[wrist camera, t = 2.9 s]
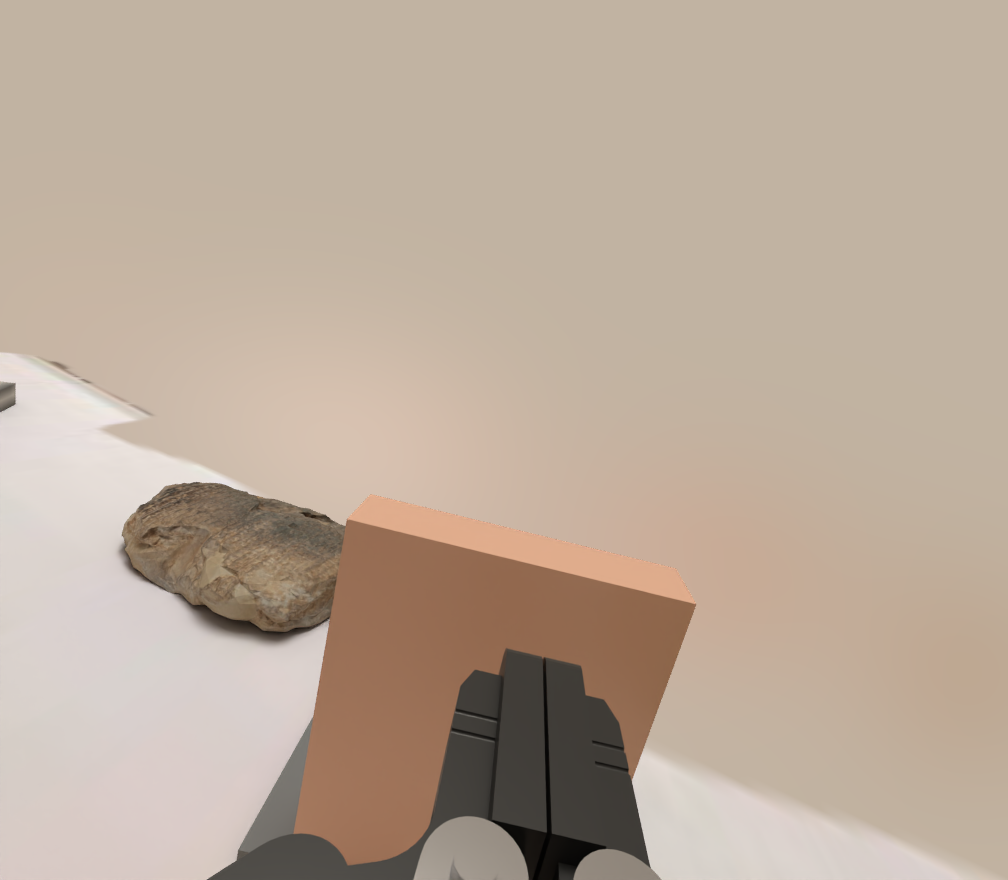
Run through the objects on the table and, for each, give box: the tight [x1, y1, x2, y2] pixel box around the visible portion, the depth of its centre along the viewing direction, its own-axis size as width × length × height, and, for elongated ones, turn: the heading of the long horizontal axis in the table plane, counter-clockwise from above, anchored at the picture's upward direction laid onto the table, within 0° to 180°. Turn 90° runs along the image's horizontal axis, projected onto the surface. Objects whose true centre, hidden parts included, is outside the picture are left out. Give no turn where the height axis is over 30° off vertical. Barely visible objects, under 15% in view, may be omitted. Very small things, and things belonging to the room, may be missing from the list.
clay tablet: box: [122, 482, 346, 632], centre depth 40 cm, size 14×5×20 cm
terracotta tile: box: [293, 494, 696, 865], centre depth 20 cm, size 12×3×15 cm, turn 87°
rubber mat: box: [237, 718, 313, 860], centre depth 29 cm, size 16×19×1 cm
